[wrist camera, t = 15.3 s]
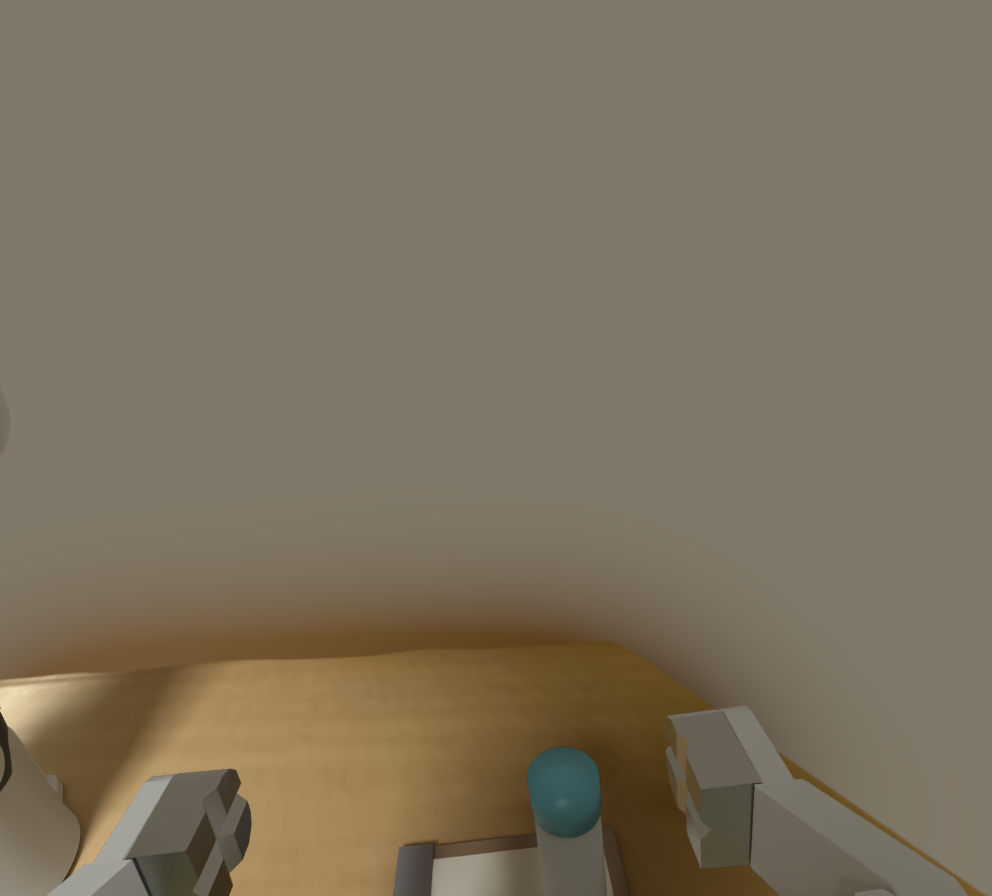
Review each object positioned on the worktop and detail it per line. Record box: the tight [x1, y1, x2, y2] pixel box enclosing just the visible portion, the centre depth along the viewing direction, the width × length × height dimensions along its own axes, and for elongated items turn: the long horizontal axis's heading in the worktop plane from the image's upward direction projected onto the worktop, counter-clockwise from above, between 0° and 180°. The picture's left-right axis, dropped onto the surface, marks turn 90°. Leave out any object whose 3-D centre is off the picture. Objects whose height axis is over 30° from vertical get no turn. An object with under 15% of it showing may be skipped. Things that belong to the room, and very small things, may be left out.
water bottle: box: [527, 747, 607, 896], centre depth 32 cm, size 4×4×12 cm
